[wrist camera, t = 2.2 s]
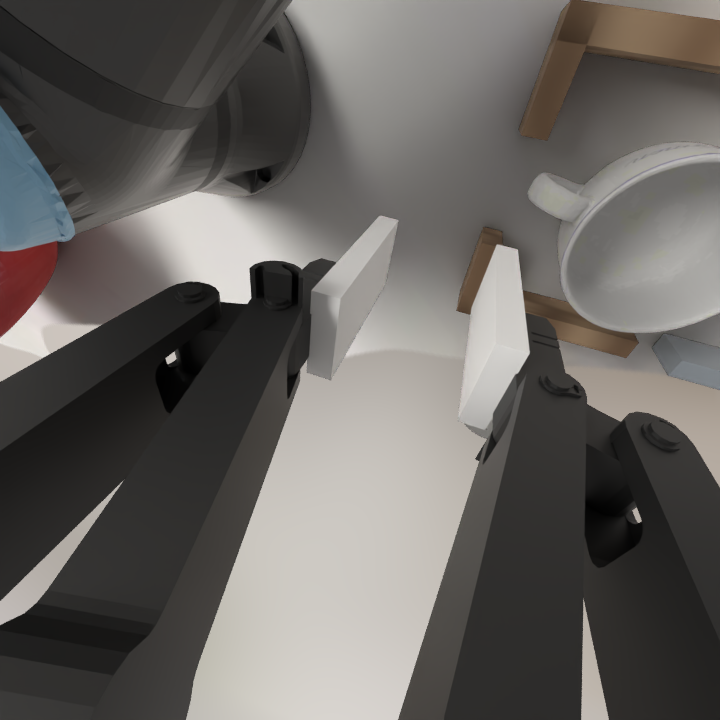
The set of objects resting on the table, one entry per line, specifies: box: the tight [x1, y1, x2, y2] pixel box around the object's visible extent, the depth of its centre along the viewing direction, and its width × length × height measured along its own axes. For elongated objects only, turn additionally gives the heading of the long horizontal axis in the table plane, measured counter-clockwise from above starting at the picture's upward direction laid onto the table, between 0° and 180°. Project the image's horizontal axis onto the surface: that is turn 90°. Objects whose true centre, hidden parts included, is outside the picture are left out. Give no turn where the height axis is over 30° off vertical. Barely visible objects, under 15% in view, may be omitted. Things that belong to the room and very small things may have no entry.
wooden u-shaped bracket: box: [456, 0, 720, 358], centre depth 25 cm, size 14×19×4 cm
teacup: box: [528, 142, 720, 333], centre depth 23 cm, size 14×11×8 cm
